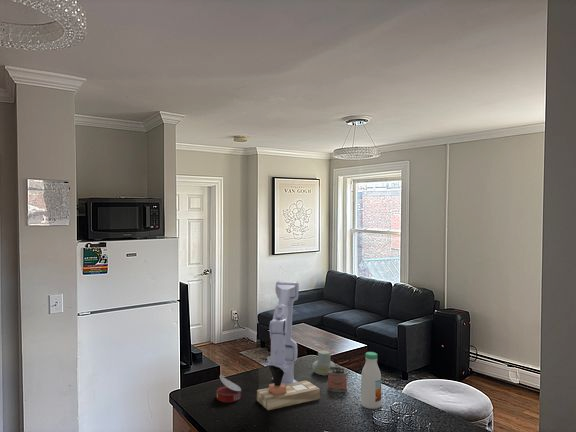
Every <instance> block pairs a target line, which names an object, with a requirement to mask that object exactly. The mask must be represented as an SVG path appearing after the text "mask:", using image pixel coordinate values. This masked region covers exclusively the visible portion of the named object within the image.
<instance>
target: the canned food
mask: <svg viewBox="0 0 576 432" xmlns="http://www.w3.org/2000/svg"><path fill="white" fill-rule="evenodd" d="M219 380H220V382H221V383H222V384H223V385H222V386H219V387H218V388H217V389H216V400H218V402H221V403H233V402H237V401H239V400H241V399H242V388H241V387H240V386H239V385H238V384H237V383H234V382H232V381H231V380H229V379H227V378H225V377H224V376H223V375H222V374H220V375H219Z"/></svg>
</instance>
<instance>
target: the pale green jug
mask: <svg viewBox="0 0 576 432" xmlns="http://www.w3.org/2000/svg"><path fill="white" fill-rule="evenodd" d="M330 366H335V367H337V366H336V364H335V363H334V361H332V360H331V351H329V350H323V349H322V350H319V351H317V360H315V361H314V362H313V363H312V365H311V367H312V370H313V371H314V373H315V374H317V375H319V376H321V375H322V376H323V377H326V376H328V371H333V370H330ZM334 371H336V370H334Z"/></svg>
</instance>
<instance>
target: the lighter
mask: <svg viewBox="0 0 576 432" xmlns="http://www.w3.org/2000/svg"><path fill="white" fill-rule="evenodd" d="M335 366H336V365H335ZM335 366H330V370H333V371H328V375H327V377H328V378H327V391H328V390H329V392H335V393H337V392H339V393H345V392H347V391H348V389H347V380H348V379H347V377H348V372H347V371H345V367H344V366H341V365H337V366H336V367H335ZM334 370H335V371H334Z"/></svg>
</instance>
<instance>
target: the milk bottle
mask: <svg viewBox="0 0 576 432" xmlns="http://www.w3.org/2000/svg"><path fill="white" fill-rule="evenodd" d="M378 356H379V355H378V353H376V352H374V351H367V352H365V362H364V366H363V367H362V370H361V375H360V376H361V377H360V378H361V379H360V404H361V406H362V407H363V408H366V409H369V410H377V409H380V408H381V406H382V375H381V370H380V368H379V365H378Z"/></svg>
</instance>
